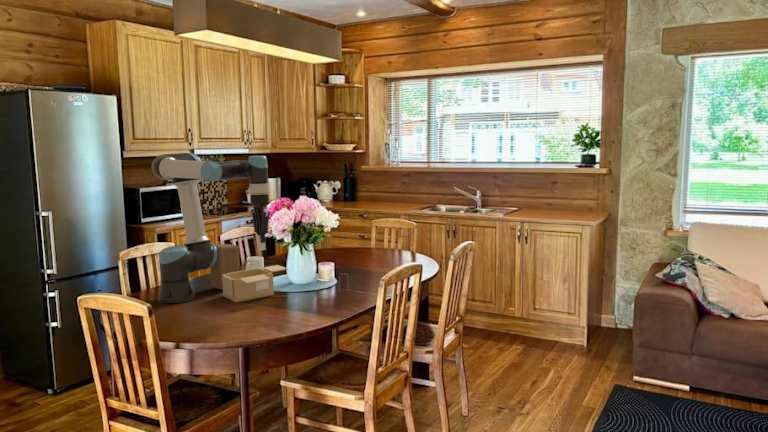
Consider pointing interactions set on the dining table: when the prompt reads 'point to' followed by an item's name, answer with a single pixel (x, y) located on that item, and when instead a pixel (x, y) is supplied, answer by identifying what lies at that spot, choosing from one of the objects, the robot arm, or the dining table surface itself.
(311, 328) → the dining table surface
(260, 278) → the front flap
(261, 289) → the carton
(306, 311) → the dining table surface
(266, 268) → the right flap
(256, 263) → the cup
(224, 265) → the wooden block
